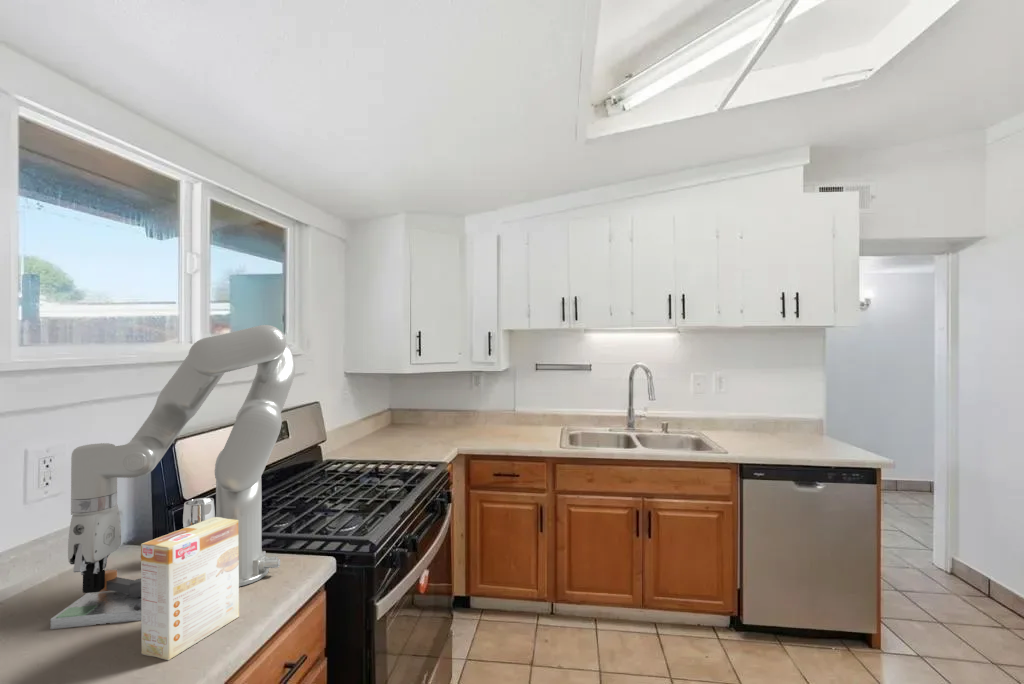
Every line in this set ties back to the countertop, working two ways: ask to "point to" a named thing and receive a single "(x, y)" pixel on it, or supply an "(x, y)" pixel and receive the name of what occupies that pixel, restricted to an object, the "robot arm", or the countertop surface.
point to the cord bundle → (137, 606)
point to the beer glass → (198, 511)
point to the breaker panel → (98, 610)
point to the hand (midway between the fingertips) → (93, 590)
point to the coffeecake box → (188, 586)
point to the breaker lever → (122, 584)
